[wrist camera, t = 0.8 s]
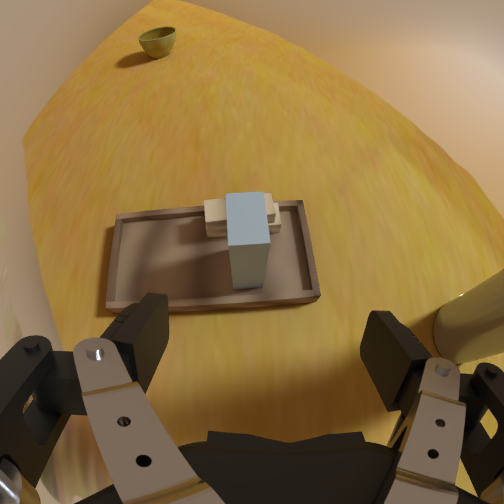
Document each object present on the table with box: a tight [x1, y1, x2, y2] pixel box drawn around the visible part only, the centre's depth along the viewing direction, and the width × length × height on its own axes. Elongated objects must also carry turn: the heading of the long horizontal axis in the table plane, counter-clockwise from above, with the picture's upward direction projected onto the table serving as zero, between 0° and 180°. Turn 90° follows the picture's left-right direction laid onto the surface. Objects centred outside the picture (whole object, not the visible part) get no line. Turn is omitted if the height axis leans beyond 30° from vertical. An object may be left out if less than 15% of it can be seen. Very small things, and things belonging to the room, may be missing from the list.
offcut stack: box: [204, 193, 281, 237], centre depth 35 cm, size 9×4×4 cm, turn 95°
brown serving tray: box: [105, 200, 321, 313], centre depth 36 cm, size 25×13×2 cm, turn 95°
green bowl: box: [138, 27, 176, 58], centre depth 59 cm, size 10×10×7 cm
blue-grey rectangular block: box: [226, 192, 270, 290], centre depth 30 cm, size 3×5×11 cm, turn 5°
